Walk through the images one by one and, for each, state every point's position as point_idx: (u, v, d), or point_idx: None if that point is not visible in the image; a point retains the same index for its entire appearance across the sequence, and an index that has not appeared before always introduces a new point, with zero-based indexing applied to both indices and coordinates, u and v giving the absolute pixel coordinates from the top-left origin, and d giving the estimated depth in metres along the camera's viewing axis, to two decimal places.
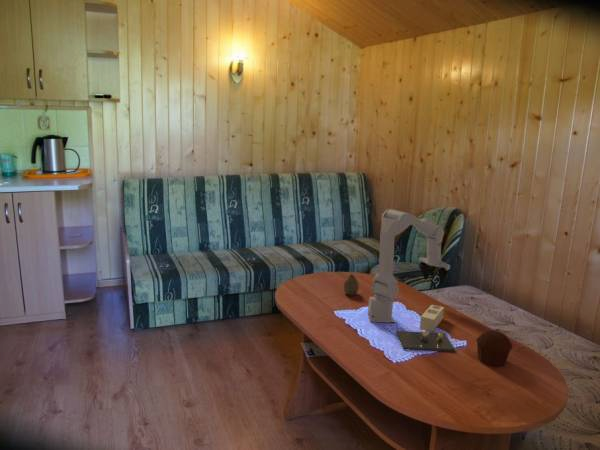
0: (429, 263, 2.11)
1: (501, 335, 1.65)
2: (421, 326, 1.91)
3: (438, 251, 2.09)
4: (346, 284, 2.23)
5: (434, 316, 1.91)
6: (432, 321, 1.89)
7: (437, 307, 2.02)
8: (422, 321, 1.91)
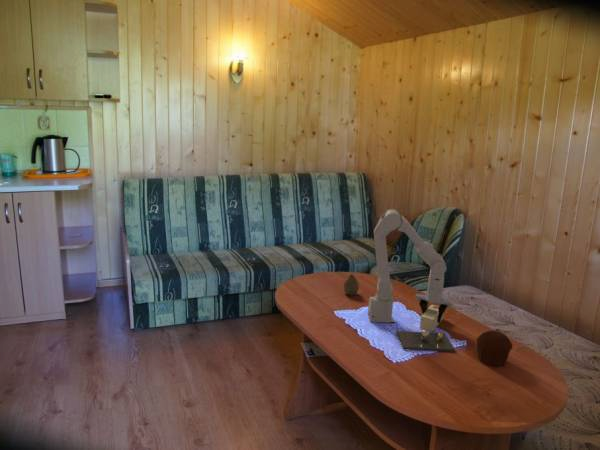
0: (431, 300, 1.92)
1: (501, 335, 1.65)
2: (421, 326, 1.91)
3: (435, 287, 1.91)
4: (346, 284, 2.23)
5: (434, 316, 1.91)
6: (432, 321, 1.89)
7: (437, 307, 2.02)
8: (422, 321, 1.91)
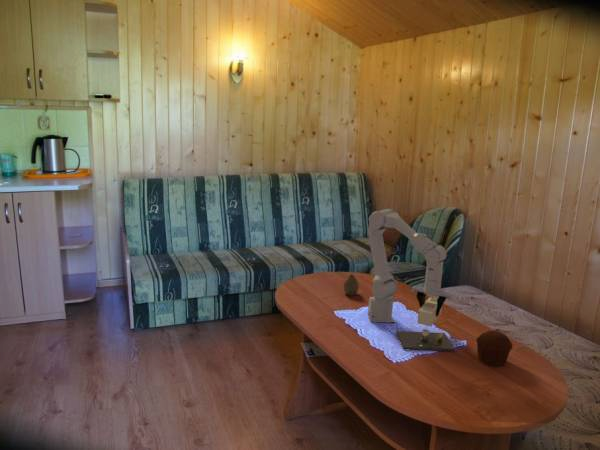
0: (429, 292, 1.81)
1: (501, 335, 1.65)
2: (419, 321, 1.80)
3: (428, 277, 1.80)
4: (346, 284, 2.23)
5: (432, 310, 1.80)
6: (430, 315, 1.77)
7: (435, 300, 1.91)
8: (420, 315, 1.79)
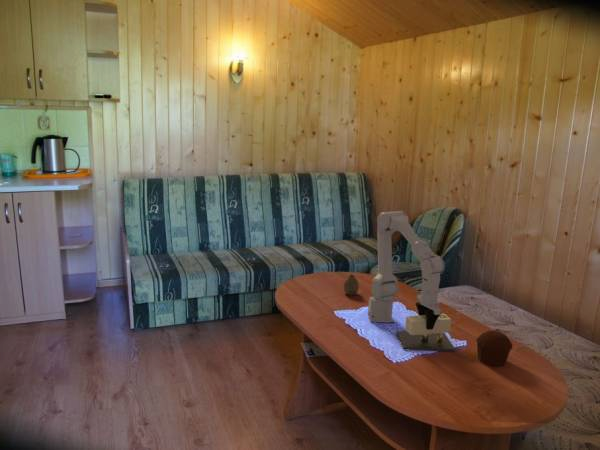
0: (420, 301, 1.76)
1: (501, 335, 1.65)
2: (406, 327, 1.80)
3: (423, 287, 1.75)
4: (346, 284, 2.23)
5: (419, 320, 1.76)
6: (411, 323, 1.75)
7: (446, 317, 1.80)
8: (406, 322, 1.79)
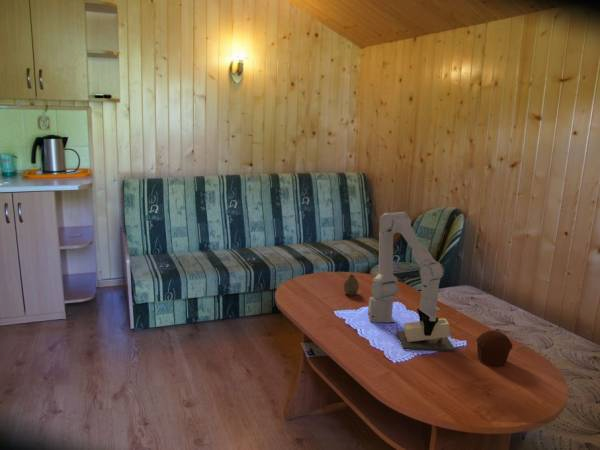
0: (419, 307, 1.78)
1: (501, 335, 1.65)
2: (405, 334, 1.82)
3: (422, 294, 1.75)
4: (346, 284, 2.23)
5: (415, 327, 1.77)
6: (406, 330, 1.77)
7: (445, 322, 1.79)
8: (404, 328, 1.81)
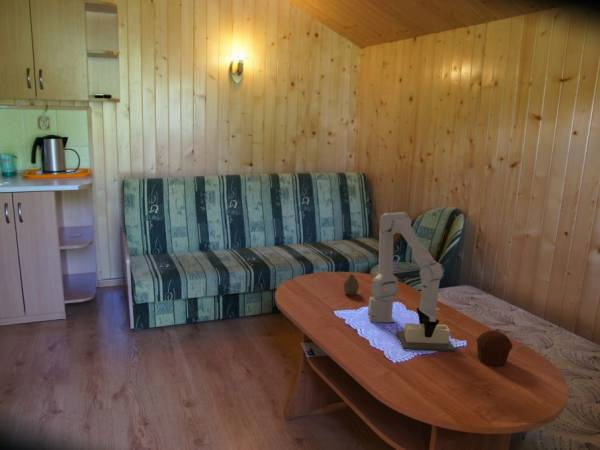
0: (419, 307, 1.78)
1: (501, 335, 1.65)
2: (404, 334, 1.82)
3: (422, 294, 1.75)
4: (346, 284, 2.23)
5: (416, 328, 1.77)
6: (407, 330, 1.77)
7: None
8: (405, 328, 1.81)
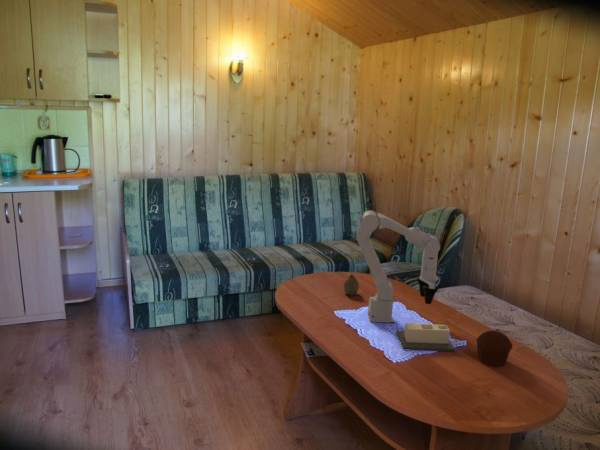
0: (420, 277, 1.94)
1: (501, 335, 1.65)
2: (404, 334, 1.82)
3: (428, 266, 1.90)
4: (346, 284, 2.23)
5: (416, 328, 1.77)
6: (407, 330, 1.77)
7: None
8: (405, 328, 1.81)
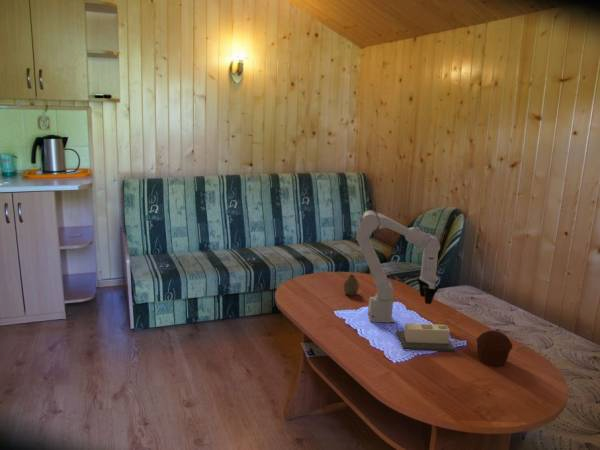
0: (420, 277, 1.94)
1: (501, 335, 1.65)
2: (404, 334, 1.82)
3: (428, 266, 1.90)
4: (346, 284, 2.23)
5: (416, 328, 1.77)
6: (407, 330, 1.77)
7: None
8: (405, 328, 1.81)
